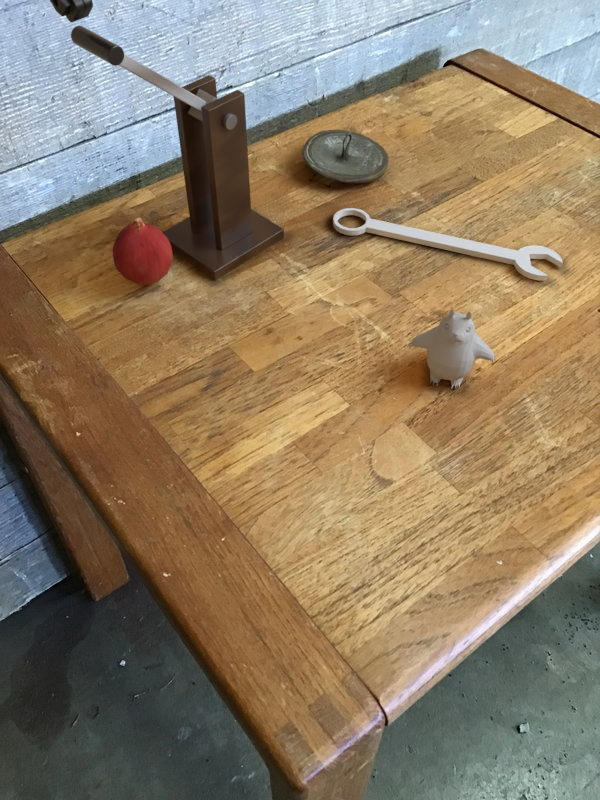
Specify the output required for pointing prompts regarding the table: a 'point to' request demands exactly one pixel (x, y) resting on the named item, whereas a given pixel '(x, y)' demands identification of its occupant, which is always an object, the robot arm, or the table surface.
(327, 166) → the lid
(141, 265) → the onion
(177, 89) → the silver and black bar
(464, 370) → the figurine
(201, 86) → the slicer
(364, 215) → the wrench
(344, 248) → the table surface
